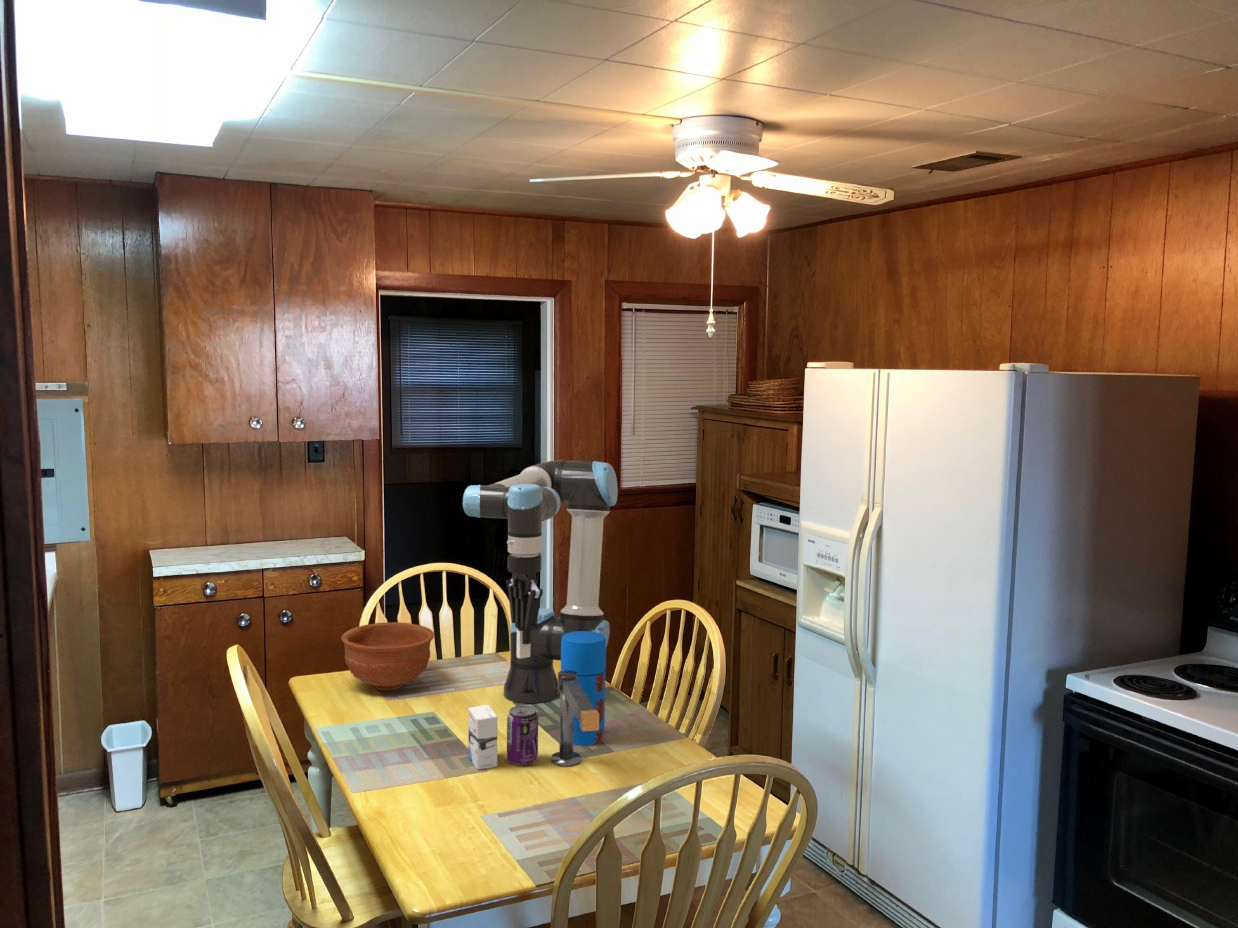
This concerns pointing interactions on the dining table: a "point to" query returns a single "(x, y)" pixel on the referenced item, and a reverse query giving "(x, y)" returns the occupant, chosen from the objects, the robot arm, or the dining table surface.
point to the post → (566, 737)
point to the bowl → (387, 653)
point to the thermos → (587, 676)
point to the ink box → (482, 736)
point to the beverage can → (522, 735)
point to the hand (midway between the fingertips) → (523, 656)
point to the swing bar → (578, 700)
